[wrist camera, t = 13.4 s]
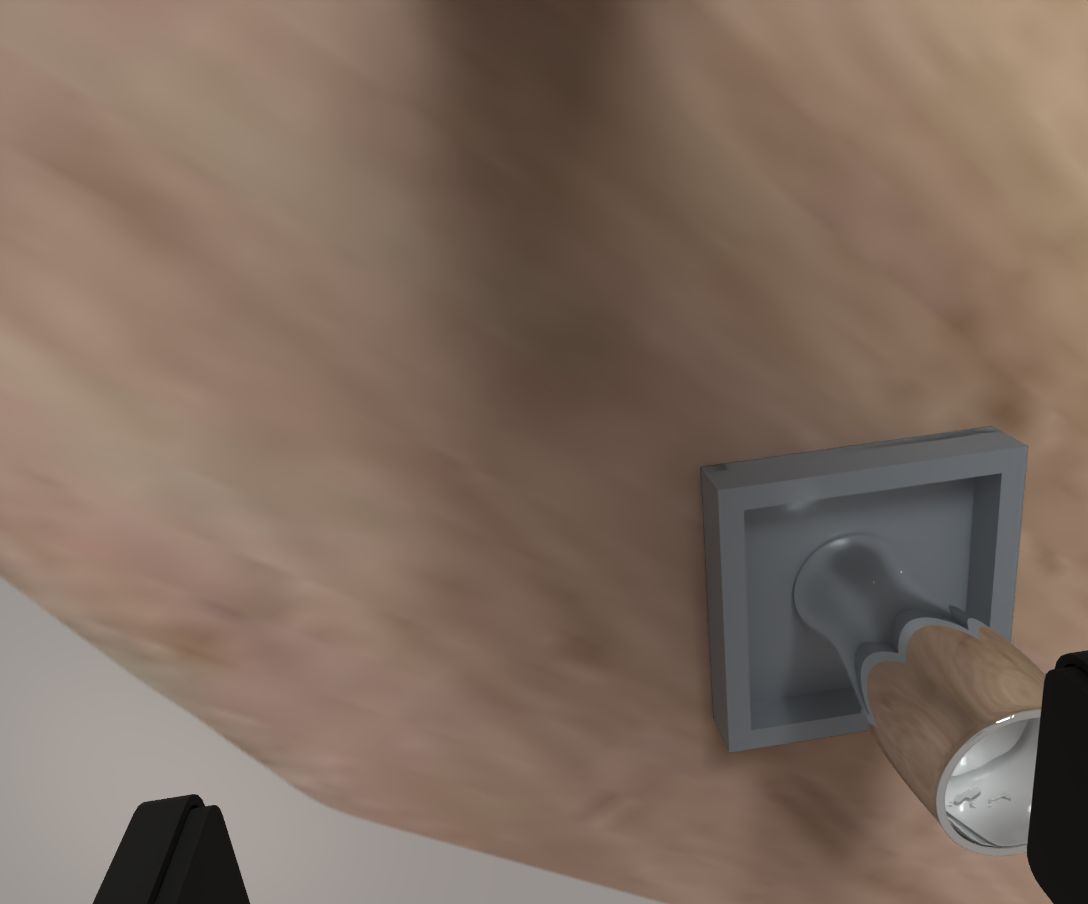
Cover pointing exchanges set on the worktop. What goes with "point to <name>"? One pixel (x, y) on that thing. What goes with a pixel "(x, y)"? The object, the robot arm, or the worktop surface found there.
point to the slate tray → (822, 516)
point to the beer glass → (931, 689)
